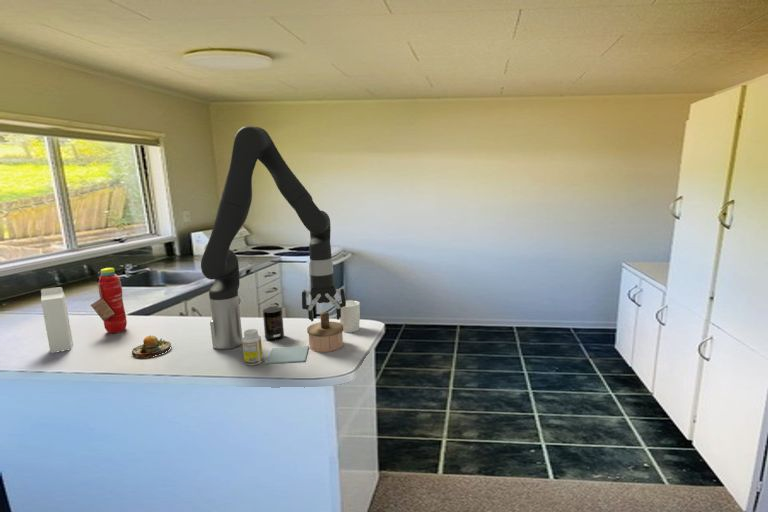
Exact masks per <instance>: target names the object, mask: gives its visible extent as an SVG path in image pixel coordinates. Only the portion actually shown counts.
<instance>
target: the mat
mask: <svg viewBox="0 0 768 512" xmlns="http://www.w3.org/2000/svg"><path fill="white" fill-rule="evenodd" d="M309 348H310V345H301V346H286V347H285V346H283V347H272V348H271V351H270V352H269V354H268V357H267V359H266V361H265V365H272V364H273V365H274V364H286V363H287V364H288V363H289V364H290V363H303V362H306V359H307V355H308V351H309Z"/></svg>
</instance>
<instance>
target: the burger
mask: <svg viewBox="0 0 768 512" xmlns="http://www.w3.org/2000/svg"><path fill="white" fill-rule="evenodd" d="M170 347H171V348H172V343H171V342H170V341H167V340H164V339H163V338H160V339H158V337H157V336H155V335H148V336H146V337H144V339H143V344H140V345H138V346H136V347H134V348H133V349H132V350H131V355H133V356H132V357H133V358H134V357H135V359H137V358H142V359H143V358H144V359H147V357H148V358H151V357H152V358H154V357H153V356H155V355H159V354H162V353H165V352H166V351H168V350H169V349H170ZM165 354H166V353H165ZM162 355H163V354H162Z"/></svg>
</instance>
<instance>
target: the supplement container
mask: <svg viewBox="0 0 768 512" xmlns="http://www.w3.org/2000/svg"><path fill="white" fill-rule="evenodd" d="M262 316H263V317H262V320H263V328H264V337H265V340H267V341H270V342H271V341H272V342H273V341H279V340H282V339H283V338H284V336H285V330H284V317H283V308H282V307H279V306H272V307H271V306H270V307H268V308H267V307H266V308H264V309H262Z"/></svg>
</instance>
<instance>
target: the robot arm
mask: <svg viewBox="0 0 768 512" xmlns="http://www.w3.org/2000/svg"><path fill="white" fill-rule="evenodd" d="M257 161H259V162H260V163H261V164H262V165H263V166H264V167H265V168H266V169H267V171H268V172H269V174H270V175H271V177H272V179H273V182H274V183H275V186H276V187H277V189H278V191H279V192H280V194H281V195H282V197H283V198H284V199H285V200H286V201H287V203H288V204H289V205H290V207H291V208H292V209H293V210H294V211H295V213H296V214H297V216H298V218H299V219H300V221H301V223H302V224H303V225H304V227H305V229H307V231H309V235H310V237H309V238H310V240H309V241H310V242H309V245H308V250H309V252H308V253H309V254H308V255H309V272H310V274H309V276H310V288H311V289H310V290H306V289H303V290H302V292H301V308H302V310H307V312H308V313H307V314H308V319H309V321H310V322H314V309H313V308H314V307H315V305H316V304H318V303H319V304H323V303H324V304H327V303H331V304H332V305H334V307H335V308H336V309H335V310H336V311H335V312H336V320H337V321H340V318H341V308H342V307H345V306H346V301H347V300H346V293H345V288H344V287H341V288H336V287H335V275H334V264H333V258H332V246H331V232H332V231H331V228H332V227H331V218H330V216H329V214H328V213H327V212H325V211H324V210H321V209H320V208H319V207H318V206H317V204H316V203H315V202H314V201H313V197H312V195H311V193H310V192H309V191H308V190H307V188H306V187H305V186H304V185H303V184H302V182H301V181H300V180H299V178H298V177H297V176H296V175H295V174H294V172H293V170H292V169H291V168H290V167H289V165H288V164H287V162H286V161H285V160H284V158H283V157H282V155H281V153H280V151H279V150H278V148H277V147H276V145H275V142H274V141H273V138H271V136H270V134H269V133H268V132H267V130H266V129H264V128H262V127H260V126H251V125H248V126H247V125H246V126H242V127H241V128H240V129H238V131H237V132H236V134H235V136H234V139H233V145H232V151H231V159H230V165H229V169H228V173H227V174H226V178H225V183H224V186H223V190H222V193H221V196H220V200H219V203H218V207H217V212H216V216H215V219H214V222H213V226H212V229H211V234H210V236H209V240H208V242H207V245H206V247H205V250H204V252H203V255H202V257H201V260H200V269H201V273H202V274H203V276H204V277H205V278H206V279H208V280H214V283H213V285H212V286H211V287H210V288H209V290H208V296H209V306H210V315H211V320H210V323H209V326H210V331H211V332H210V333H211V342H212V348H213V349H219V350H230V349H233V348H237V347H240V346H241V345H243V343H242V339H243V338H244V337H243V329H242V319H241V312H240V311H241V310H240V300H239V288H240V266H239V261H238V257H237V255H236V253H235V252H234V251H233V250H231V249H230V247H231V244H232V242H233V240H234V239H235V237H236V236H237V234H238V233H239V231H240V230H241V229H242V227H243V225H244V224H245V222H246V220H247V218H248V215H249V212H250V208H251V205H252V202H253V201H252V200H253V186H252V185H253V173H254V170H255V168H256V164H257ZM336 294H338V296H340V297H341V298H340V300H341V302H342V303H340V302H339V301H338V300H337V298H336V297H335V295H336ZM309 295H310V296H311V297H312V301H311V302H310V304H309V305H308V304H307V301H308V300H307V298H308V297H309Z"/></svg>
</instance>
